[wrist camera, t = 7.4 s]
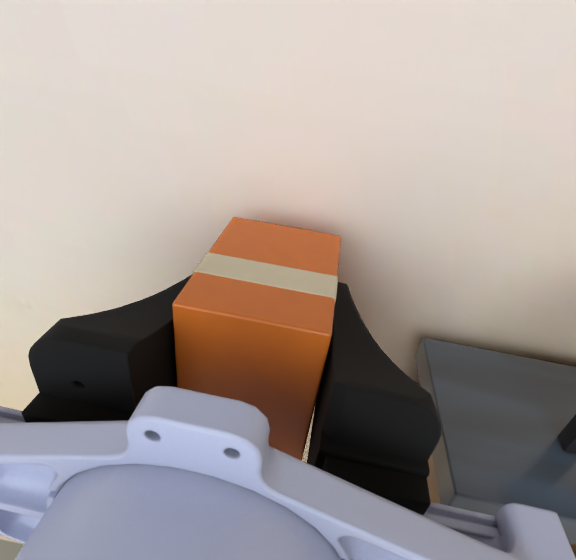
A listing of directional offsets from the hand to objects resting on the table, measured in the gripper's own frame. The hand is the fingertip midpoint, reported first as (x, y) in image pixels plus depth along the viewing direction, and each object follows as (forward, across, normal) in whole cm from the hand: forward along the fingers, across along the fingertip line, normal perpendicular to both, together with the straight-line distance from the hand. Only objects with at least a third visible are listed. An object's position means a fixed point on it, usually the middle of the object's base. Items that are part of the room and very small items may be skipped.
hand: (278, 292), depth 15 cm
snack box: (0, 0, 0) cm, 0 cm away
